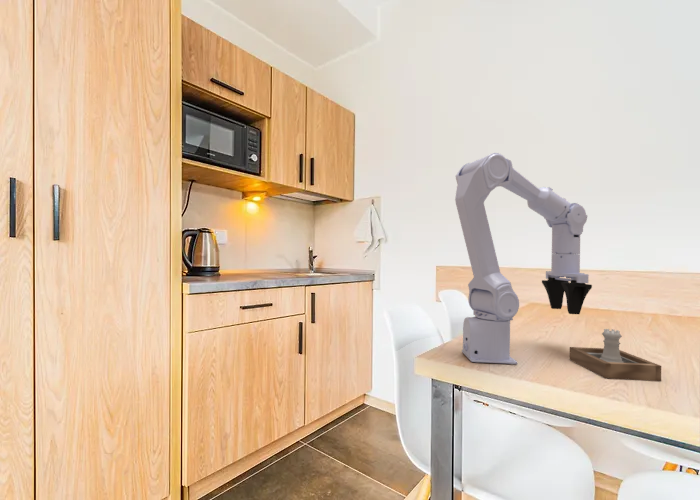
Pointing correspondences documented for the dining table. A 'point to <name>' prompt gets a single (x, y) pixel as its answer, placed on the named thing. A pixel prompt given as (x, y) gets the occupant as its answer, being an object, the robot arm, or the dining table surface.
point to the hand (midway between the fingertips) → (564, 311)
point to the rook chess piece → (611, 346)
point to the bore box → (615, 365)
